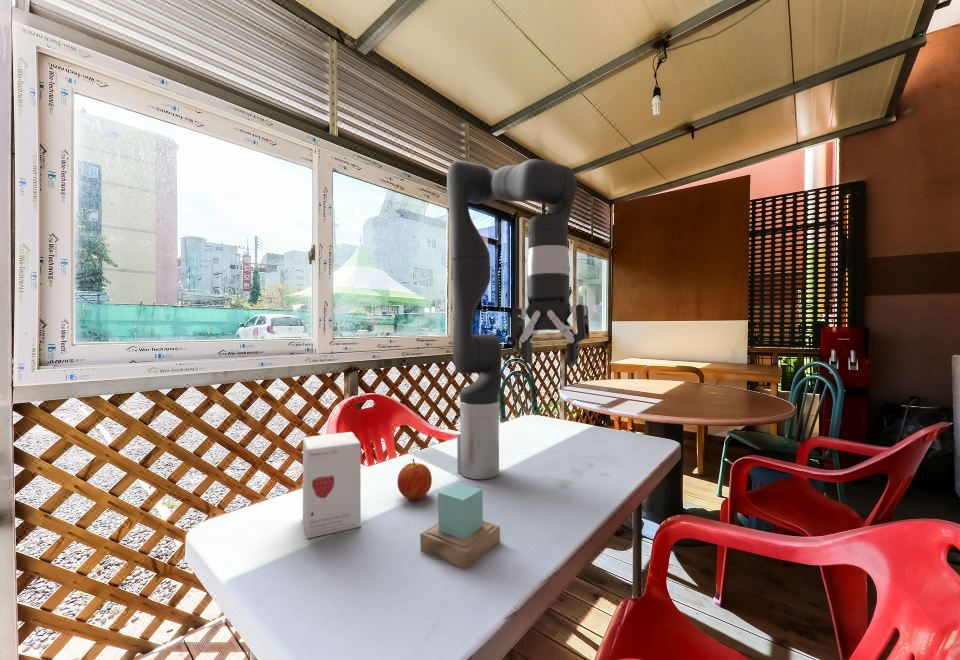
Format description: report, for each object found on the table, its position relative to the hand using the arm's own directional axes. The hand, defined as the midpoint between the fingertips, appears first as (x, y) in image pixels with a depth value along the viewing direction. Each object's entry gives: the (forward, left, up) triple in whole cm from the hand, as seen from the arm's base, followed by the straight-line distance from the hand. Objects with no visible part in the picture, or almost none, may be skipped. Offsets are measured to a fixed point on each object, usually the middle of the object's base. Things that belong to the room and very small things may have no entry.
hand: (548, 363), depth 71 cm
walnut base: (-8, -16, -28) cm, 33 cm away
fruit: (-27, -7, -28) cm, 40 cm away
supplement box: (-32, -23, -28) cm, 49 cm away
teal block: (-8, -16, -25) cm, 31 cm away
